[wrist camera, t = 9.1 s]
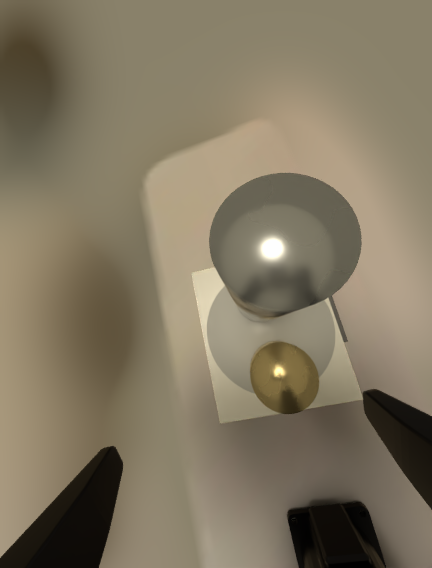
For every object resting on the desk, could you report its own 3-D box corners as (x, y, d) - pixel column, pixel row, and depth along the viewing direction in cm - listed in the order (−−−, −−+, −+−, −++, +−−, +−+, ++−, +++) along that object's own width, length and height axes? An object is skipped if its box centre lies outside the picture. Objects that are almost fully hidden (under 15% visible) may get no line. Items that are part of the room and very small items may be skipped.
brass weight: (316, 395, 16) (328, 407, 14) (257, 406, 17) (259, 419, 15) (299, 335, 18) (307, 336, 15) (244, 346, 18) (243, 349, 16)
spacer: (290, 316, 18) (387, 288, 5) (241, 327, 18) (226, 325, 6) (276, 269, 19) (330, 156, 6) (230, 280, 20) (197, 195, 7)
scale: (355, 389, 19) (377, 401, 16) (223, 412, 20) (218, 428, 17) (308, 250, 22) (318, 238, 19) (197, 278, 24) (189, 270, 20)
